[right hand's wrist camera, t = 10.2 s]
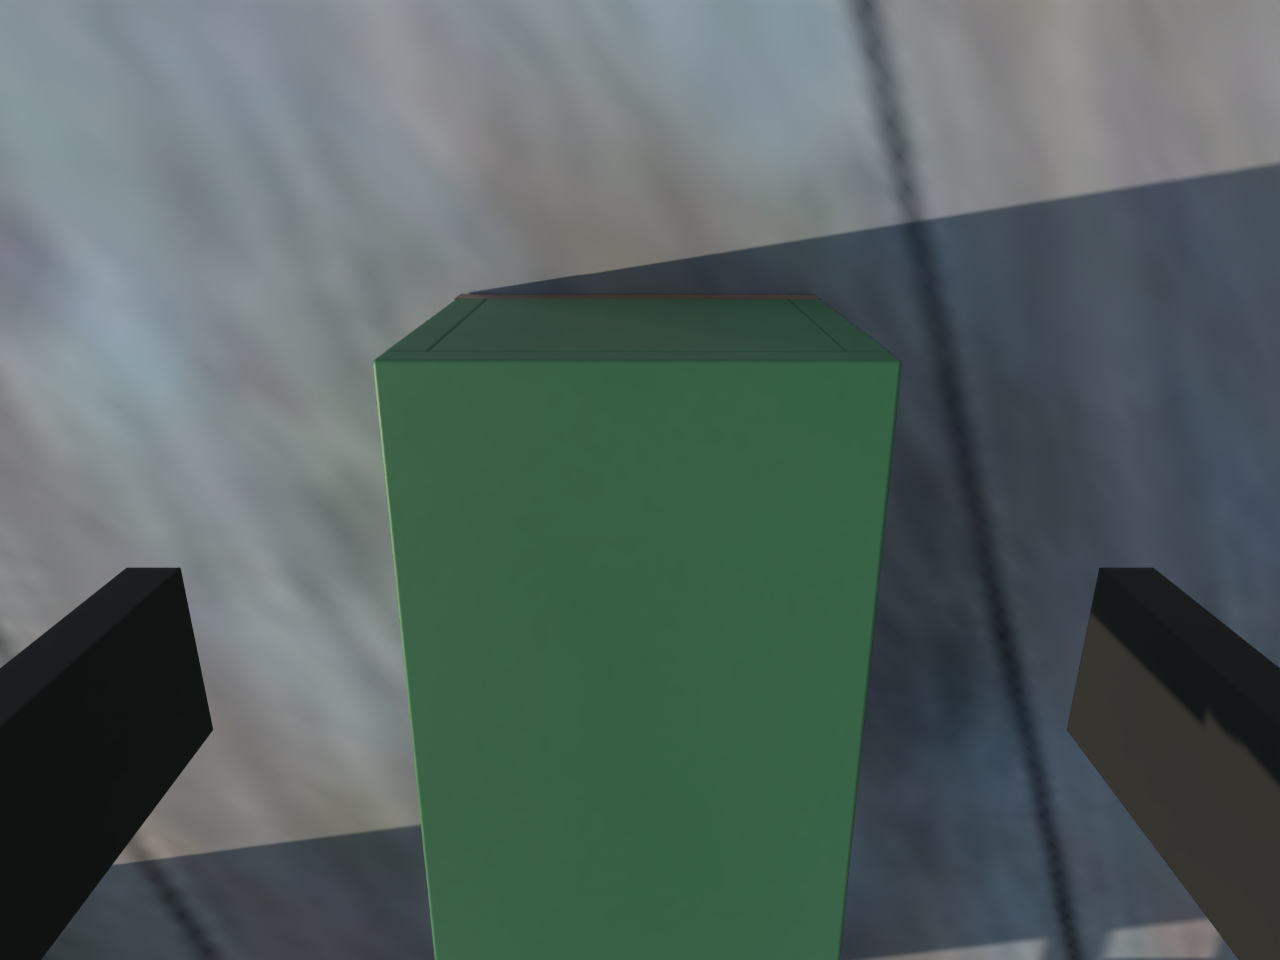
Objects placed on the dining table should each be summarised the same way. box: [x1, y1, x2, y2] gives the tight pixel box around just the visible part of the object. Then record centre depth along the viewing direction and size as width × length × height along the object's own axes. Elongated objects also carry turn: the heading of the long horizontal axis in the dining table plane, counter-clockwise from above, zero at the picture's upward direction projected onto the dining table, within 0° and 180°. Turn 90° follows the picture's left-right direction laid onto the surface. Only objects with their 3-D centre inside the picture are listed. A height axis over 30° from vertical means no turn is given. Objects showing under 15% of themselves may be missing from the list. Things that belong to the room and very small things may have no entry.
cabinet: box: [373, 294, 902, 960], centre depth 24 cm, size 18×10×9 cm, turn 0°
